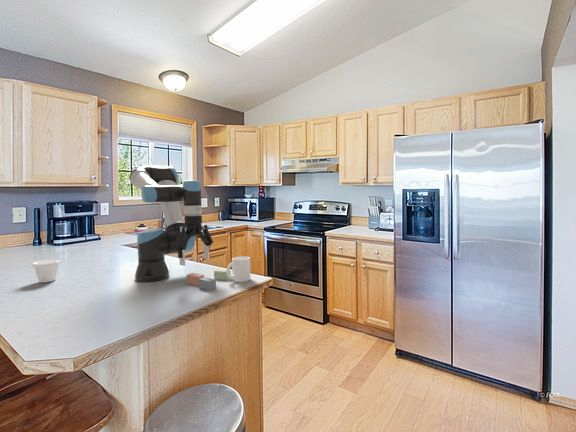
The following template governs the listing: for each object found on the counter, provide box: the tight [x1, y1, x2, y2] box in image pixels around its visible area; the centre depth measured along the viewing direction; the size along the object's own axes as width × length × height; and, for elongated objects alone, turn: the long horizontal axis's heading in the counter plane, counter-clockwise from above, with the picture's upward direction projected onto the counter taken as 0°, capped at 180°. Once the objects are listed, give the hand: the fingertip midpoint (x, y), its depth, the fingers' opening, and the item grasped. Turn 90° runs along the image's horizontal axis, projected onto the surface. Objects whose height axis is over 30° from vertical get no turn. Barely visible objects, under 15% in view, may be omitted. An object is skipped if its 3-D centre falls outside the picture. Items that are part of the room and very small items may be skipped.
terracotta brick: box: [186, 272, 205, 286], centre depth 144 cm, size 7×4×4 cm, turn 61°
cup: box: [32, 259, 60, 284], centre depth 149 cm, size 10×10×9 cm
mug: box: [225, 255, 251, 283], centre depth 147 cm, size 12×8×10 cm
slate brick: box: [198, 276, 217, 291], centre depth 137 cm, size 7×4×4 cm, turn 54°
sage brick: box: [213, 268, 232, 281], centre depth 151 cm, size 7×4×4 cm, turn 73°
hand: (195, 262), depth 143 cm, fingers open, 13 cm apart
